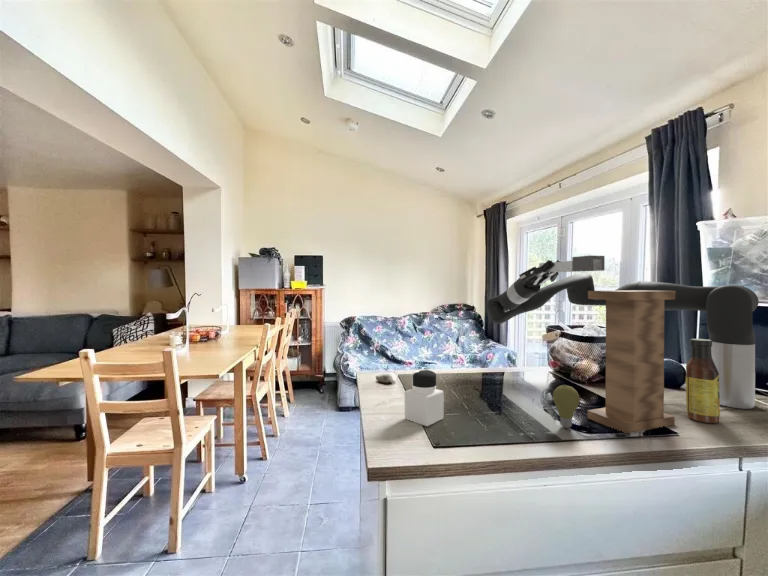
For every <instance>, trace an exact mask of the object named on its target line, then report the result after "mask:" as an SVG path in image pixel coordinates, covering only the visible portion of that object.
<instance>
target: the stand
mask: <svg viewBox="0 0 768 576" xmlns="http://www.w3.org/2000/svg"><path fill="white" fill-rule="evenodd" d="M588 299H602V300H606V306H605V406H604V407H601V408H593V409H587V419H589V420H592V421H594V422H596V423H598V424H601V425H602V426H606V427H608V428H610V427H611V428H610V429H613V428H614V429H613V430H615V429H617V430H616V431H618V430H619V431H618V432H620V431H622V432H624V433H623V434H625V433H628V434H631V433H630V432H633V433H637V432H636V431H638V432H642V430H644V431H647V430H653V429H659V427H660V428H664V427H663V426H665V427H669V426H674V425H675V424H676V423H675V422H676V421H675V420H676V419H675V417H676V416H674V415H671V414H668V413H665V400H664V399H665V310H664V300H670V299H675V291H646V290H619V291H614V290H595V291H588ZM622 432H621V433H622Z"/></svg>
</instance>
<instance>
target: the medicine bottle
mask: <svg viewBox="0 0 768 576" xmlns="http://www.w3.org/2000/svg"><path fill="white" fill-rule="evenodd" d="M411 387H412V388H410V389H407V390H405V391H404V419H405V420H406V419H407V420H406V421H409V420H410V421H409V422H412V421H413V422H412V423H416V424H419V425H421V426H424V427H429V426H432V425H433V424H435V423H437V422H440V421H441V420H443V419H444V415H445V414H444V411H445V409H444V402H445V401H444V390H441V389H437V373H436V372H434V371H432V370H429V369H418V370H415V371H413V372H412V373H411Z"/></svg>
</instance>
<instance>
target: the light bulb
mask: <svg viewBox="0 0 768 576" xmlns="http://www.w3.org/2000/svg"><path fill="white" fill-rule="evenodd" d="M552 399H553V402H554V405H555V406H556V409H557V413H558V415H559V419H560V421H559V424H560V426H562V427H563V428H564V429H569V428H571V427H572V426H573V424H572V423H573V418H574V416H575V415H574V414H575V411H576V410H577V408H578V407H579V405H580V395H579V393H578V391H577V390H576V389H575V388H574V387H573V386H570V385H567V384H562V385H558V386H557V387H556V388H555V389H554V391H553V393H552Z"/></svg>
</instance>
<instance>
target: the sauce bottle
mask: <svg viewBox="0 0 768 576" xmlns="http://www.w3.org/2000/svg"><path fill="white" fill-rule="evenodd" d="M689 341H690V342H689V344H690V346H691V353H690V355H691V356H690V359H689V360H688V362H686V366H685V399H686V400H685V401H686V402H685V403H686V406H685V407H686V414H687V417H688V418H689V419H690V420H693V421H696V422H699V423H705V424H717V423H719V422H720V416H721V405H720V395H719V373H718V370H717V368H716V366H715V364H714V361H713V359H712V355H711V347H712V341H711V340H709V339H705V338H690V340H689Z"/></svg>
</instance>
